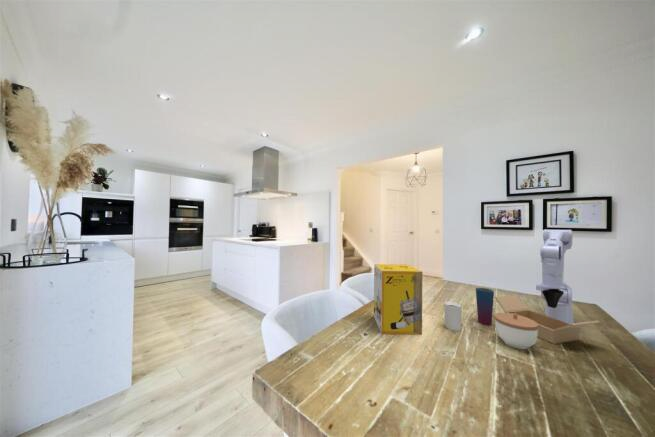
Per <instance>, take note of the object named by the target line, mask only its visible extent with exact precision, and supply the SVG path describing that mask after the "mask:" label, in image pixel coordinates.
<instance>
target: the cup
mask: <svg viewBox="0 0 655 437" xmlns="http://www.w3.org/2000/svg"><path fill="white" fill-rule="evenodd" d="M494 294H495V290H494V289H491V288H487V287H481V286H480V287H475V298H476V300H475V301H476V310H477V322H478V323H479V324H480V325H484V326H491V325H492V322H493V310H494V299H495V296H494Z"/></svg>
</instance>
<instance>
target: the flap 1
mask: <svg viewBox="0 0 655 437" xmlns="http://www.w3.org/2000/svg"><path fill="white" fill-rule="evenodd" d="M494 299H495V300H496V301H497V303H498V305H499V306H500V308H501V309H502V310H503V311H504V312H503V313H505V312H510V311H521V310H528V307H527V306H526V304H524V302H523V300H521V298H520V297H519V295H518V294H513V295H498V296H497V295H496V296H494Z"/></svg>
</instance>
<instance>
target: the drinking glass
mask: <svg viewBox="0 0 655 437" xmlns="http://www.w3.org/2000/svg"><path fill="white" fill-rule="evenodd" d="M443 304H444V305H443V306H444V324H445V326H444V327H445V328H446V329H448V330H450V331H455V332H459V331H461V330H462V328H461V327H462V313H463V312H462V309H463V308H462V307H463V304H460V303H458V302H455V301H451V300H450V301H449V300H447V301H444V302H443Z"/></svg>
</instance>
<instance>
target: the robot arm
mask: <svg viewBox="0 0 655 437" xmlns="http://www.w3.org/2000/svg"><path fill="white" fill-rule="evenodd" d="M542 239H543V244H544V245H543V246H542V245H541V246H540V249H539V254H540V259H541V260H540V261H541V264H542V266H541V276H542V277H541V278H542V279H541V280H542V282H541V283H540V284H536V285H535V290H536V291H540V298H541V299H542V300H543V301H544V302H545V304H544V305H545V316H548V317H551V318H554V319H557V320H560V321H563V322H566V323H569V324H573V323H574V309H573V307H572V306H571V305H572V303H573V290H572V287H571V286H570V285H568V284H567V283H566V282H564V269H565V268H564V266H565V253H566V251H567V250H570V249H572V247H573V230H572V229H547V228H545V229H543V231H542Z"/></svg>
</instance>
